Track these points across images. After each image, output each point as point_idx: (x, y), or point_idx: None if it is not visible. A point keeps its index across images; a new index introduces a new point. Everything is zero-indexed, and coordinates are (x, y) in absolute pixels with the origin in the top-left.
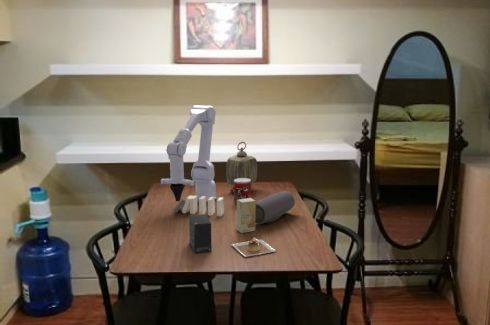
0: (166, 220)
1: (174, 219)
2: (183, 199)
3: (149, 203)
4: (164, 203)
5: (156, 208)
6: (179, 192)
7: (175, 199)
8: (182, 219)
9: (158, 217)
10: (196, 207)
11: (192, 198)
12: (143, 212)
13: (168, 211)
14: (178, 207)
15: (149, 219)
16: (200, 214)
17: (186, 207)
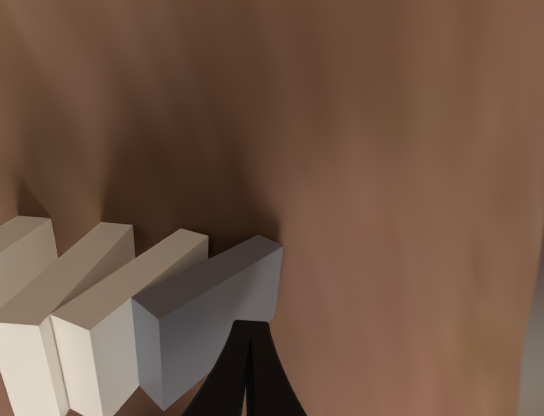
0: (285, 8)
1: (215, 54)
2: (151, 316)
3: (505, 393)
4: (402, 404)
5: (443, 312)
6: (187, 410)
7: (270, 334)
8: (136, 65)
9: (387, 96)
10: None
11: (5, 323)
12: (540, 214)
13: (334, 262)
14: (233, 259)
15: (468, 18)
16: (37, 219)
17: (147, 256)
